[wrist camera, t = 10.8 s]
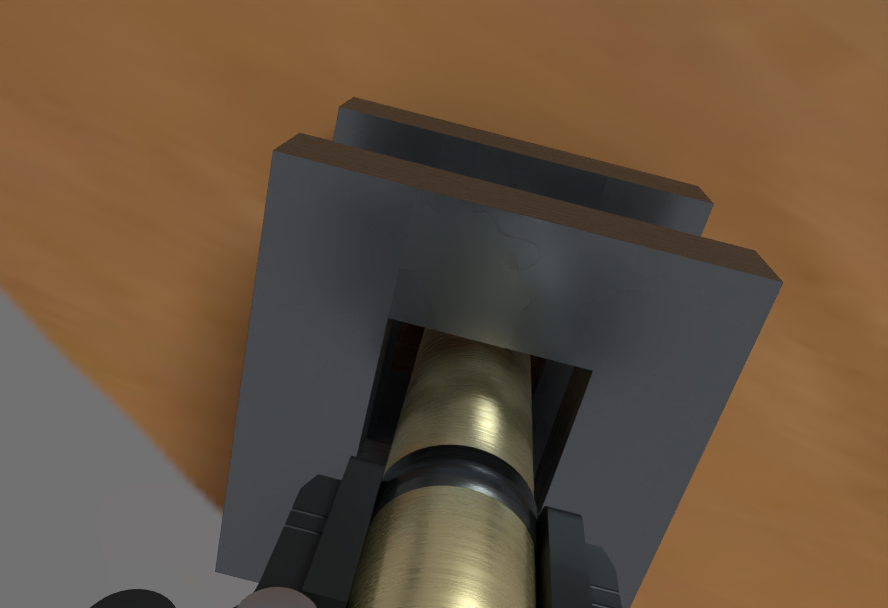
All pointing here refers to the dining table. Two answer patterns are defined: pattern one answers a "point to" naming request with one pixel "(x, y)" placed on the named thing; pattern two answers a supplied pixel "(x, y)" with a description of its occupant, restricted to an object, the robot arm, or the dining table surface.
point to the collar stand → (487, 319)
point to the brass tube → (456, 486)
